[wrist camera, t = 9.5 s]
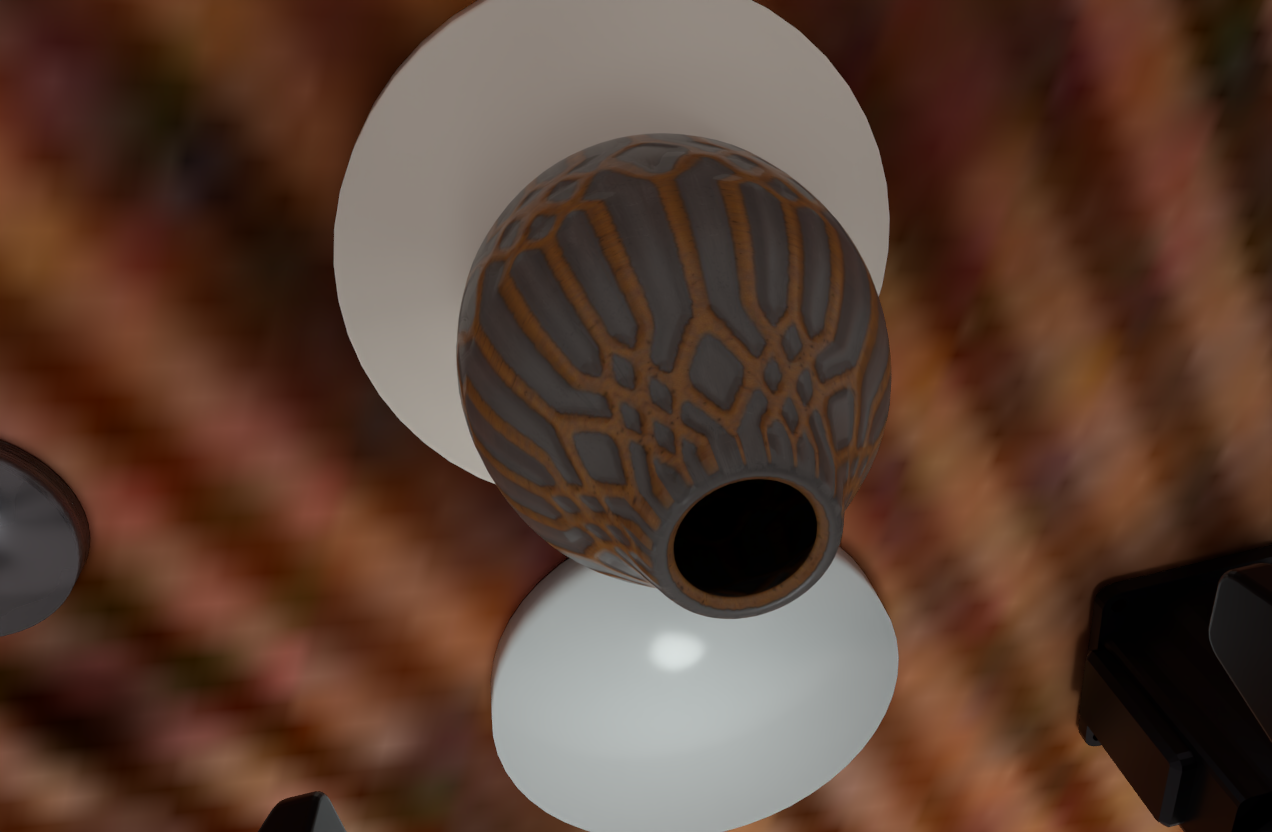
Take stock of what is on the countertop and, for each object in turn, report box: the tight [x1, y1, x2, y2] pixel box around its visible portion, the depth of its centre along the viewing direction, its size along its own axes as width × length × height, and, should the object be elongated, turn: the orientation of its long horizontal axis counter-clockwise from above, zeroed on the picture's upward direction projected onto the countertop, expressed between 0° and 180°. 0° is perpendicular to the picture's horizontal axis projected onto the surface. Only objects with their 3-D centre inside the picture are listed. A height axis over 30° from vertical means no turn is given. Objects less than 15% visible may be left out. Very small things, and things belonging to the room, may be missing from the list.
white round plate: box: [491, 547, 899, 832], centre depth 26 cm, size 11×11×1 cm
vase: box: [456, 133, 891, 619], centre depth 15 cm, size 7×7×9 cm
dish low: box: [334, 0, 890, 484], centre depth 19 cm, size 11×11×1 cm
